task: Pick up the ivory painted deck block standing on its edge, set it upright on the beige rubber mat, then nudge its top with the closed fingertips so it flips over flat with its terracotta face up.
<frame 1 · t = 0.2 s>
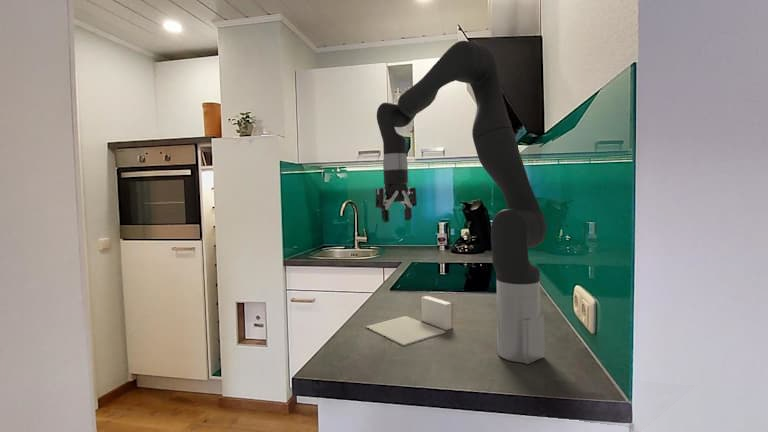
hand: (397, 221, 125), 28 cm above the worktop, fingers open, 8 cm apart
mat: (404, 330, 109), on the worktop
smartphone: (440, 311, 126), on the worktop
deck block: (436, 324, 113), on the worktop
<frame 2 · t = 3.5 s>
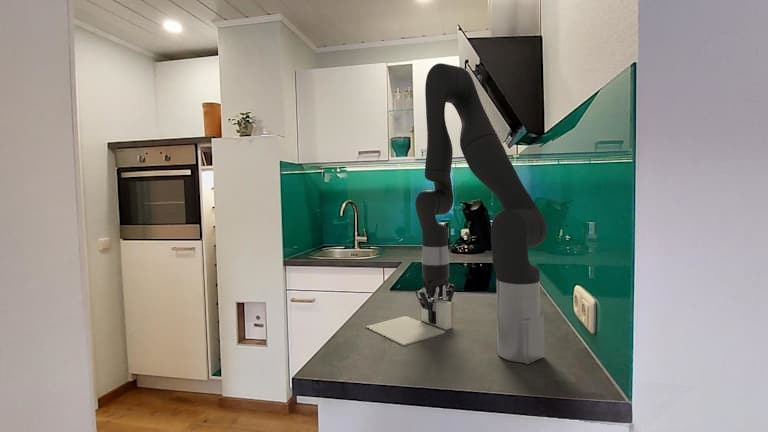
hand: (436, 321, 113), 1 cm above the worktop, fingers closed on deck block, 2 cm apart
deck block: (436, 324, 113), on the worktop, touching gripper
everything else where it was.
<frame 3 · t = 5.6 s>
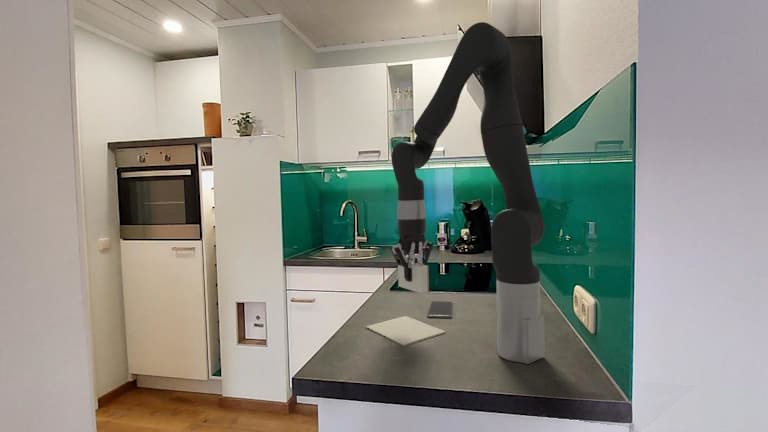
hand: (413, 280, 109), 13 cm above the worktop, fingers closed on deck block, 2 cm apart
deck block: (413, 288, 109), point 11 cm above the worktop, touching gripper
everything else where it was.
when the fingers open (2 cm above the worktop, at t = 7.8 s): deck block stays where it is, resting on mat.
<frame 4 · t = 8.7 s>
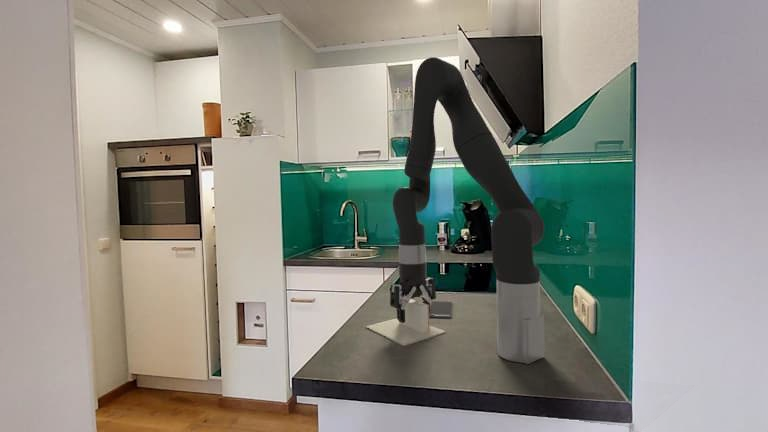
hand: (414, 318, 110), 3 cm above the worktop, fingers open, 8 cm apart
deck block: (413, 326, 110), resting on mat
everything else where it was.
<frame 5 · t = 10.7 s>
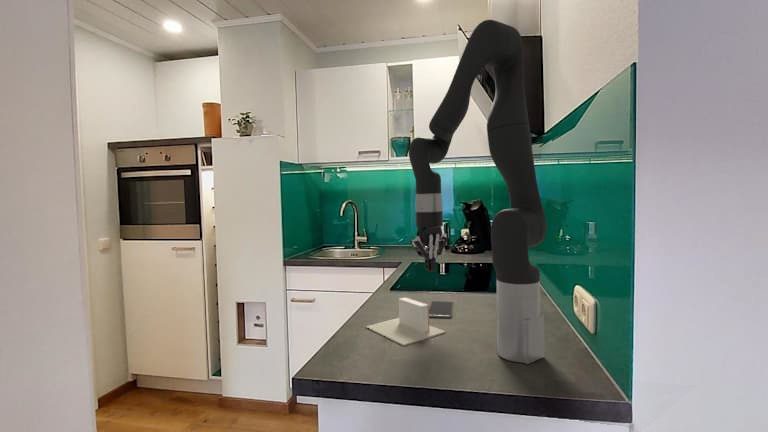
hand: (430, 271, 113), 15 cm above the worktop, fingers closed
nothing on the worktop moved.
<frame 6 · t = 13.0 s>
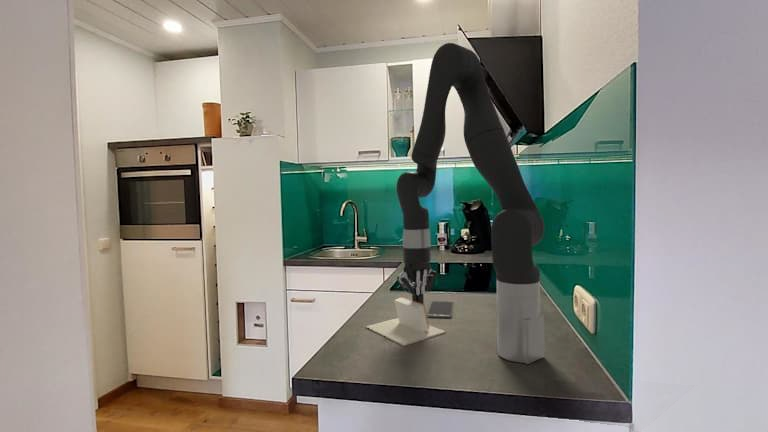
hand: (418, 307, 111), 6 cm above the worktop, fingers closed
deck block: (413, 325, 110), point 1 cm above the worktop, tilted 12°, touching mat
everything else where it was.
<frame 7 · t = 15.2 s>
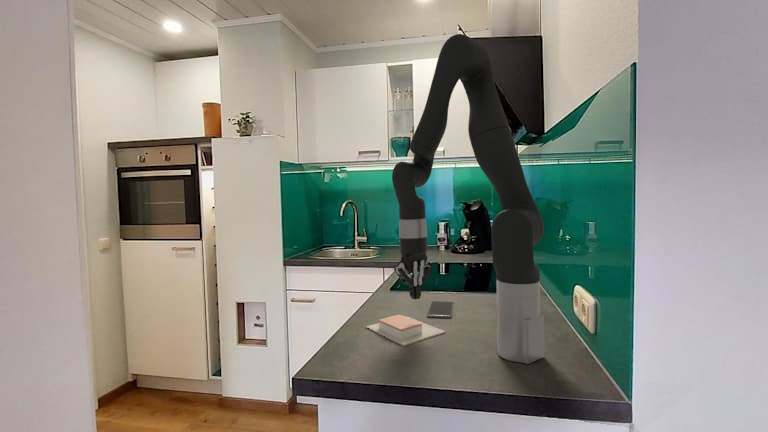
hand: (415, 298, 109), 8 cm above the worktop, fingers closed
deck block: (410, 323, 109), point 2 cm above the worktop, tilted 90°, touching mat
everything else where it was.
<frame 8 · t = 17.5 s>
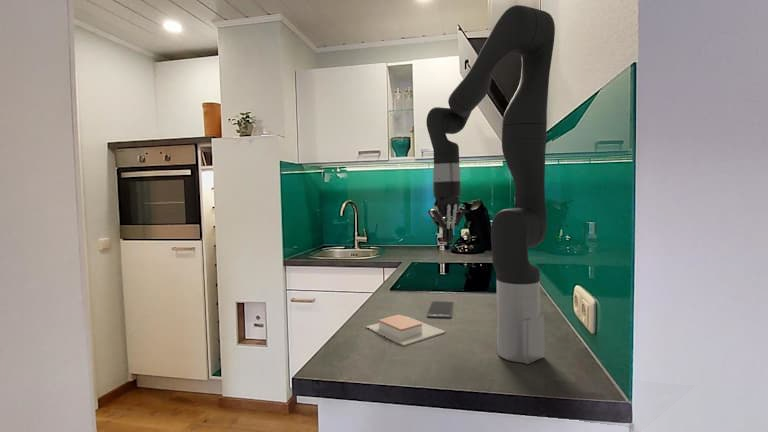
hand: (448, 241, 113), 23 cm above the worktop, fingers closed
nothing on the worktop moved.
at the end: deck block tilted 90°; deck block inside the target area on the mat (1.7 cm from its centre), point 1.6 cm above the mat's base; the gripper is holding nothing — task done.
